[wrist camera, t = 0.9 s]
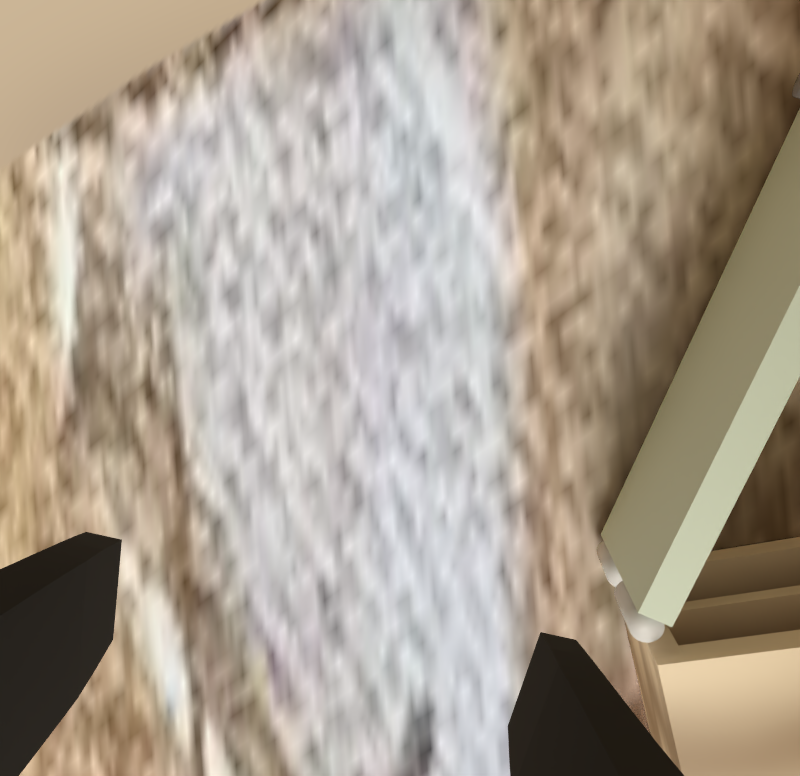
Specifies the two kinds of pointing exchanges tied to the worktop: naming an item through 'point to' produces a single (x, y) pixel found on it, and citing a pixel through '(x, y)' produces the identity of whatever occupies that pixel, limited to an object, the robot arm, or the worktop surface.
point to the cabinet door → (712, 413)
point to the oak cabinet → (730, 667)
